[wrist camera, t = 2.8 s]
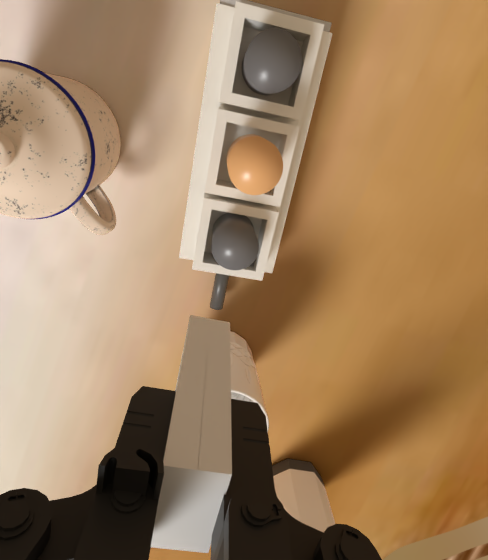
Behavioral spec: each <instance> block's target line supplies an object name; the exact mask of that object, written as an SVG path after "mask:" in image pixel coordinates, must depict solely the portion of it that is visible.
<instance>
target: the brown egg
mask: <svg viewBox="0 0 488 560" xmlns="http://www.w3.org/2000/svg"><path fill="white" fill-rule="evenodd" d="M226 162H227V168H228V173H229V177H230V179H231V181H232V183H233V184H234V186H235V187H236V188H237V189H239V190H240V191H241V192H243V193H246V194H249V195H261V194H264V193H267V192H269V191H270V190H272V189H273V188H274V187H275V186H276V185H277V183H278V182H279V180H280V178H281V176H282V172H283V160H282V156H281V154H280V152H279V150H278V149H277V147H276V146H275V145H274V144H273V143H271V142H270V141H268V140H266V139H265V138H263V137H261V136H259V135H255V134H246V135H243V136H240V137H239V138H237V139H236V140H235V141H234V142H233V143H232V144H231V145H230V147H229V149H228V152H227V157H226Z"/></svg>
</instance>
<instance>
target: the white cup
mask: <svg viewBox="0 0 488 560" xmlns="http://www.w3.org/2000/svg"><path fill="white" fill-rule="evenodd" d="M230 358H231V399H236V400H242V401H249V402H255V403H258V404H259V406H260V407H261V409H262V411H263V412H264V414H265V416H266V422H267V433H268V428H269V421H268V416H267V411H266V407H265V403H264V398H263V394H262V389H261V385H260V381H259V377H258V374H257V369H256V366H255V363H254V360H253V356H252V351H251V349H250V347H249V345H248V344H247V342H246V340H245V339H244V338H242V337H241V336H239V335H238V334H236V333H235V332H231V331H230Z"/></svg>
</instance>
